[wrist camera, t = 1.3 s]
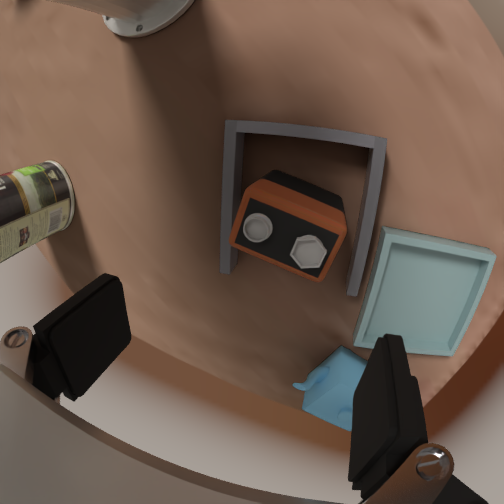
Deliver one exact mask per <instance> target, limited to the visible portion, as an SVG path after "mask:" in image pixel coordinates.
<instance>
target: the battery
mask: <svg viewBox="0 0 504 504" xmlns="http://www.w3.org/2000/svg"><path fill="white" fill-rule="evenodd" d="M346 234H347V226H346V220H345V214H344V208H343V202H342V199H341V197H340V196H338V195H336V194H334V193H331V192H329V191H327V190H324V189H322V188H320V187H318V186H315V185H313V184H310V183H308V182H306V181H303V180H301V179H298V178H296V177H294V176H291V175H289V174H286V173H284V172H281V171H278V170H273V171H271V172H270V173H268V174H267V175H265V176H264V177H262V178H261V179H259V180H258V181H256V182H255V183H253V184H252V185H250V186H249V187H247V188H246V190H245V192H244V195H243V198H242V200H241V203H240V206H239V209H238V212H237V215H236V218H235V221H234V224H233V227H232V230H231V233H230V237H229V243H230V245H231V246H233V247H235V248H237V249H239V250H241V251H244V252H246V253H248V254H251V255H253V256H255V257H258V258H260V259H262V260H265V261H267V262H269V263H272V264H274V265H276V266H279V267H281V268H283V269H286V270H288V271H290V272H293V273H295V274H297V275H300V276H302V277H304V278H307V279H309V280H312V281H314V282H321V281H322V280H323V279H324V278H325V276H326V274H327V272H328V270H329V268H330V266H331V264H332V262H333V260H334V258H335V256H336V254H337V252H338V250H339V248H340V246H341V244H342V242H343V240H344V238H345V236H346Z"/></svg>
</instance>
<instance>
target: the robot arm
mask: <svg viewBox="0 0 504 504" xmlns="http://www.w3.org/2000/svg"><path fill="white" fill-rule="evenodd" d="M48 1H53V2H57V3H62V4H66V5H70V6H74V7H77V8H81V9H85V10H88V11H91V12H95V13H98V14H101V15H102V16H103V20H104V23H105V24H106V26H107V27H108V29H110V30H111V31H112V32H113V33H116V34H118V35H121V36H125V37H142V36H147V35H149V34H152V33H155V32H157V31H159V30H161V29H163V28H165V27H167V26H168V25H169V24H171V23H172V22H174V21H175V20H176V19H178V18H179V17H180V16H181V15H182V14H183V13H184V12H185V11H186V10H187V9H188V8H189V7H190V6H191V5H192V3H193V2H194V0H48ZM33 327H34V330H35V333H36V334H34V335H33V334H32V332H31V330H30V329H28V328H27V327H16V328H12V329H10V330H9V331H7V332H6V333H5V334H4V335H3V337H2V339H1V341H0V504H341V503H334V502H327V501H319V500H312V499H305V498H298V497H292V496H287V495H281V494H276V493H271V492H267V491H262V490H258V489H253V488H249V487H245V486H241V485H237V484H233V483H230V482H226V481H223V480H219V479H216V478H213V477H209V476H206V475H204V474H201V473H198V472H194V471H192V470H189V469H186V468H184V467H181V466H178V465H176V464H173V463H170V462H168V461H165V460H163V459H161V458H158V457H156V456H153V455H151V454H149V453H147V452H145V451H142V450H140V449H138V448H136V447H134V446H132V445H130V444H127V443H125V442H123V441H121V440H120V439H118V438H116V437H114V436H112V435H110V434H108V433H106V432H104V431H103V430H101V429H99V428H97V427H95V426H94V425H92V424H90V423H88V422H87V421H85V420H83V419H82V418H80V417H78V416H77V415H75V414H73V413H72V412H70V411H69V410H67V409H66V408H64V407H63V406H61V405H60V394H61V393H62V392H63V394H64V396H66V397H67V398H69V399H71V400H72V401H75V400H76V399H77V398H78V397H81V396H82V395H84V393H85V392H86V391H87V390H88V389H89V388H90V387H91V385H92V384H93V383H94V382H95V381H96V380H97V379H98V377H100V375H101V374H102V373H103V372H104V371H105V370H106V369H107V368H108V366H109V365H110V364H111V363H112V362H113V361H114V360H115V359H116V358H117V356H118V355H119V354H120V353H121V352H122V351H123V350H124V349H125V348H126V347H127V345H128V344H129V343H130V341H131V331H130V326H129V321H128V316H127V310H126V304H125V298H124V292H123V286H122V283H121V282H120V279H119V278H118V277H117V276H114V275H110V274H107V273H104V274H102V275H101V276H99V277H98V278H97V279H95V280H94V281H92V282H91V283H90V284H88V285H87V286H85V287H84V288H83V289H81V290H80V291H79V292H77V293H76V294H74V295H73V296H72V297H70V298H69V299H68V300H66V301H65V302H64V303H62V304H61V305H60V306H58V307H57V308H56V309H55V310H53V311H52V312H51V313H49V314H48V315H47V316H45V317H44V318H43V319H42V320H40V321H39V322H38V323H36V324H35V325H34V326H33ZM453 471H454V460H453V457H452V455H451V453H450V452H449V451H448V450H447V449H446V448H445V447H443V446H442V445H439V444H436V443H428V438H427V431H426V424H425V418H424V412H423V406H422V400H421V395H420V390H419V385H418V381H417V378H416V377H415V376H411V374H410V369H409V364H408V359H407V355H406V351H405V346H404V342H403V338H402V336H401V335H394V334H387V333H386V334H384V336H383V337H378V339H377V341H376V343H375V346H374V348H373V351H372V353H371V355H370V358H369V360H368V363H367V365H366V367H365V369H364V372H363V374H362V376H361V378H360V381H359V383H358V385H357V387H356V389H355V392H354V395H353V410H352V433H351V450H350V462H349V473H348V481H350V482H353V485H352V490H361V498H362V500H361V501H360V502H359V503H358V504H488V503H487V501H485V500H484V499H483V498H482V497H480V496H479V495H478V494H476V493H475V492H474V491H473V490H471V489H470V488H469V487H468V486H466V485H465V484H464V483H462V482H461V481H460V480H459V479H457V478H456V477H455V476H454V475H452V473H453Z"/></svg>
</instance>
